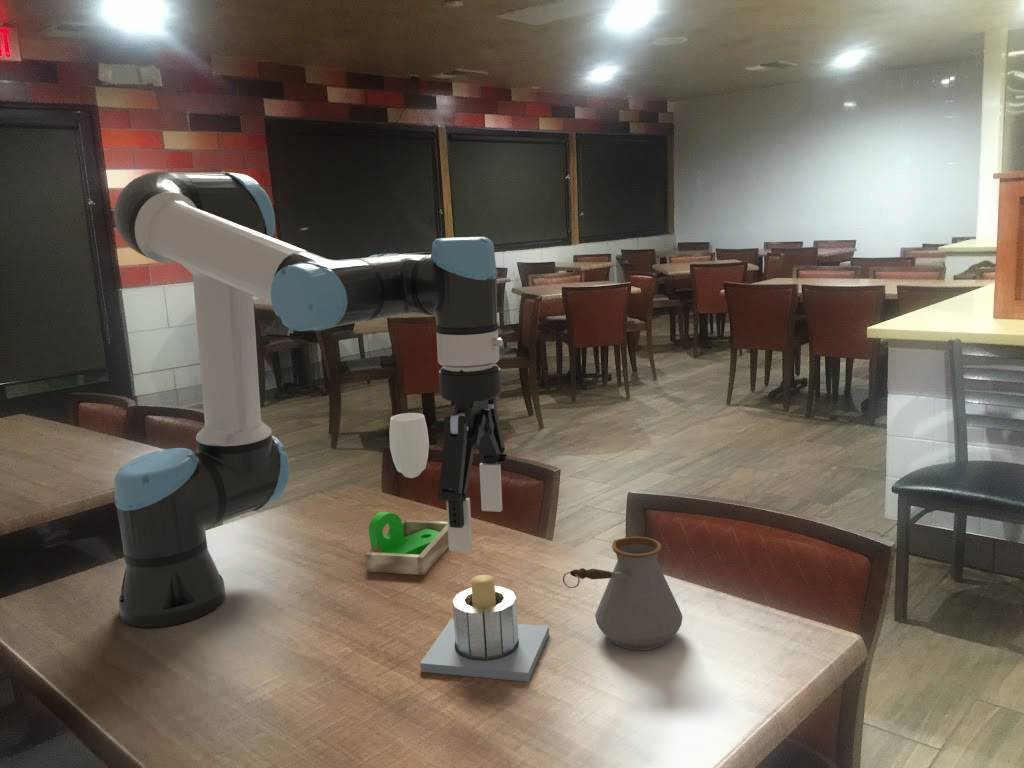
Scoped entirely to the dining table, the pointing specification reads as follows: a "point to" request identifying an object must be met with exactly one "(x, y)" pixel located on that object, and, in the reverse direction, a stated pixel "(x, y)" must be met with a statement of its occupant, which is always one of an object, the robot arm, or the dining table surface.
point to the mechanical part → (397, 535)
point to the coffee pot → (635, 597)
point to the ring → (485, 624)
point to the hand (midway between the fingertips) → (477, 529)
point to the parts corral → (411, 561)
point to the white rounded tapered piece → (409, 443)
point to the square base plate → (504, 666)
